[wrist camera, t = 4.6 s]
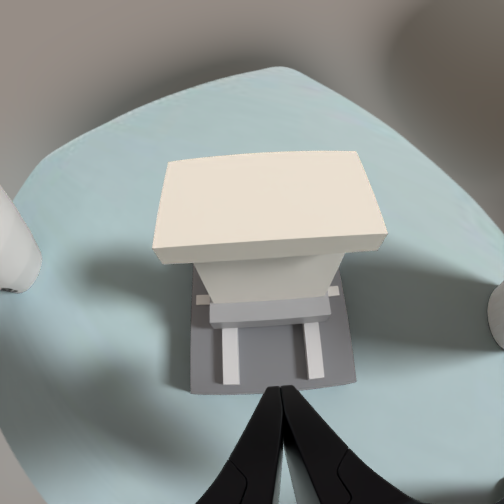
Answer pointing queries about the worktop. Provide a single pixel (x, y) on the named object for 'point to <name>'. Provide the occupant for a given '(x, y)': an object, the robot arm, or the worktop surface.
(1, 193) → the cup
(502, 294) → the coffee cup
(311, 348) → the fader console
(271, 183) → the plate
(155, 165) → the worktop surface
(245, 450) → the robot arm
